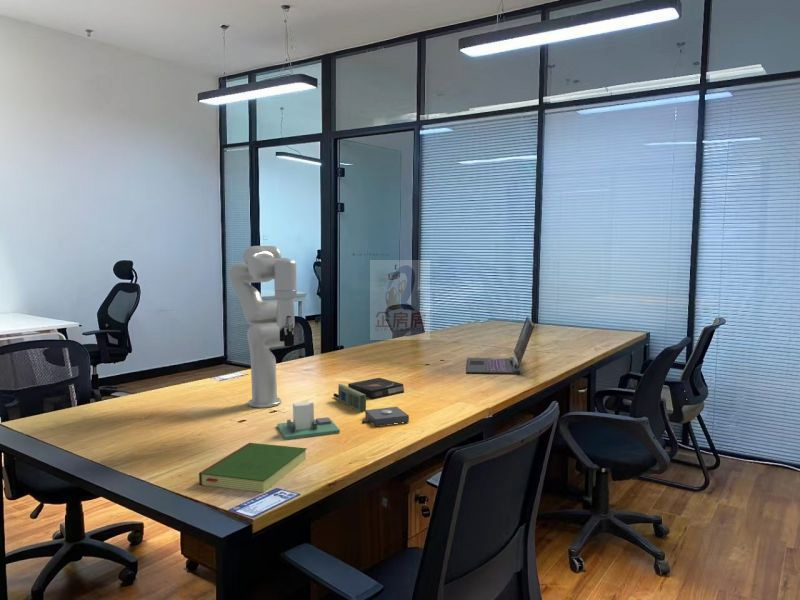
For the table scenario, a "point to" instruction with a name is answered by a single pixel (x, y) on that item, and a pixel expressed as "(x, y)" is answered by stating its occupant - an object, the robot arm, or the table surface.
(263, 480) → the hardcover book
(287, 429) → the board
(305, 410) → the plug
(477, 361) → the laptop
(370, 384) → the portable cd player
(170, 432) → the table surface
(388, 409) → the gray dome slab
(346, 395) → the handheld radio
